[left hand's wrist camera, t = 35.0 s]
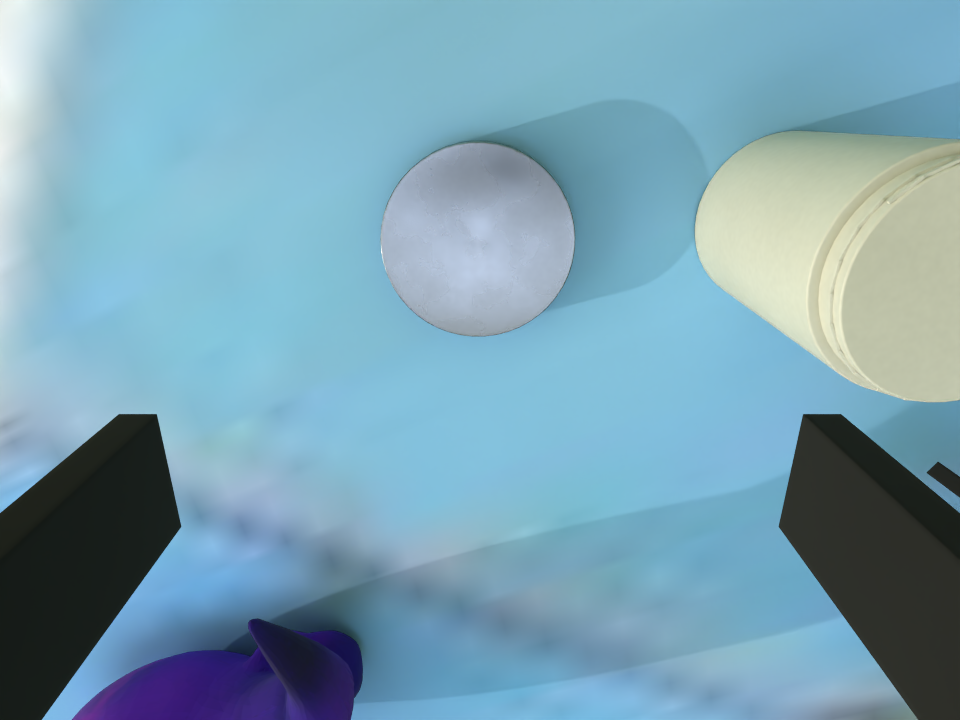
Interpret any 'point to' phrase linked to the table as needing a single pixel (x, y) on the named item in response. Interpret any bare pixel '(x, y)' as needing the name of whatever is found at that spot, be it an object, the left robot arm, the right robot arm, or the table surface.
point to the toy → (242, 682)
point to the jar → (846, 252)
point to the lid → (477, 238)
